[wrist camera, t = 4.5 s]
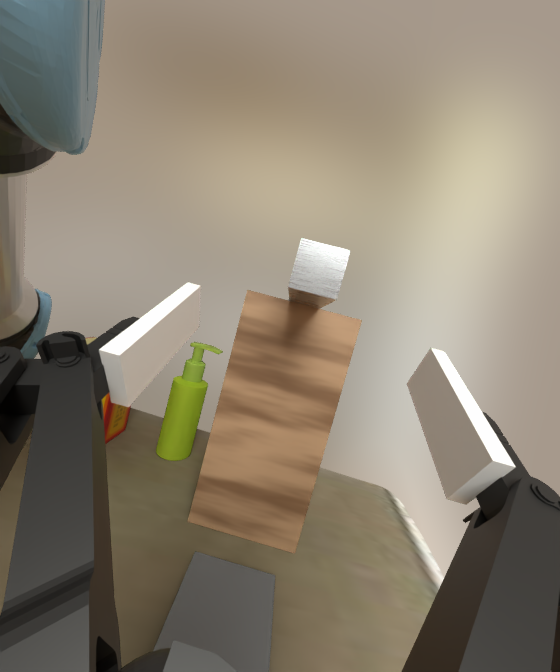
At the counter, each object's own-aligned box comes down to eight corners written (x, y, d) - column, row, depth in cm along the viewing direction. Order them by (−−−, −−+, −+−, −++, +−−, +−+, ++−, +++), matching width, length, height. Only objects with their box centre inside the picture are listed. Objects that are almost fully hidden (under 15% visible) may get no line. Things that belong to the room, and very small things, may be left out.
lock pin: (344, 302, 19) (363, 236, 18) (280, 284, 19) (297, 219, 19) (312, 314, 47) (320, 288, 46) (287, 307, 47) (294, 281, 46)
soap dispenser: (188, 466, 43) (218, 351, 42) (149, 455, 44) (177, 340, 42) (200, 448, 49) (226, 347, 48) (165, 439, 49) (190, 338, 48)
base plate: (251, 885, 13) (256, 868, 13) (80, 827, 13) (85, 811, 13) (272, 583, 28) (275, 575, 28) (192, 559, 28) (195, 551, 28)
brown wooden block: (294, 553, 32) (361, 320, 30) (187, 521, 33) (247, 289, 31) (294, 499, 42) (344, 320, 40) (211, 475, 43) (258, 297, 41)
